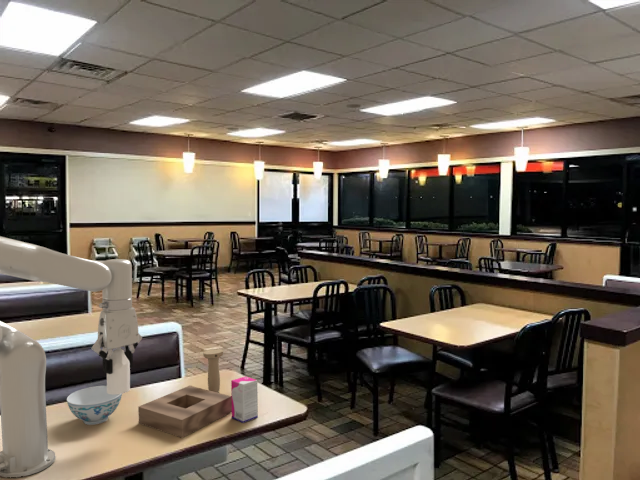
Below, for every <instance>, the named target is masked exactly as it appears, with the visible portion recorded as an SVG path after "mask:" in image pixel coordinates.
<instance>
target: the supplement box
mask: <svg viewBox="0 0 640 480" xmlns="http://www.w3.org/2000/svg"><path fill="white" fill-rule="evenodd" d="M230 381H231V382H230V384H231V385H230V386H231V388H230V389H231V391H230V392H231V395H230V396H231V397H232V398H231V399H232V412H231V419H234V420H235V421H238V422H240V423H241V424H244V423H247V422H250V421H252V420H255V419H257V418H258V417H259V412H258V408H259V406H258V403H259V402H258V401H259V399H258V393H259V391H258V380H257V379H254V378H251V377H250V376H249V377H248V376H247V375H246V376H242V377H239V378H235V379H232V380H230Z"/></svg>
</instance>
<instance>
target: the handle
mask: <svg viewBox="0 0 640 480" xmlns="http://www.w3.org/2000/svg"><path fill="white" fill-rule="evenodd" d="M223 355H224V350H223V349H220V348H215V349H210V350H209V349H208V350H205V351H203V355H202V356H203V357H204V358H206V359H207V361H208V362H207V363H208V364H207V365H208V368H207V386H208V387H207V390H209V391H213V392H217V393H220V389H221V388H220V387H221V375H220V364H219V363H220V362H219V359H220V358H221V357H222V356H223Z"/></svg>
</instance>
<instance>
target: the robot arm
mask: <svg viewBox="0 0 640 480" xmlns="http://www.w3.org/2000/svg"><path fill="white" fill-rule="evenodd" d="M132 267H133V265H132V262H131V261H130V260H129V259H125V258H123V259H121V258H118V259H117V258H114V259H112V258H111V259H106V260H93V259H87V258H82V257H79V256H78V257H77V256H75V255H69V254H66V253H62V252H59V251H57V250H54V249H50V248H47V247H44V246H40V245H37V244H34V243H29V242H26V241H25V242H24V241H21V240H17V239H12V238H8V237H5V236H1V235H0V275H3V276H4V275H5V276H10V277H15V278H20V279H24V280H29V281H33V282H42V283H48V284H54V285H58V286H63V287H68V288H73V289H78V290H82V291H88V292H95V293H96V292H101V291H102V297H101V298H102V300H101V301H102V302H100V303H99V304H98V308H100V309H102V310H100V313H99V318H98V324H97V325H98V326H97V339H96V341H95V342H94V344H93V345H92V347H91V350H92V351H93V352H94V353H96V354H97V355H98V356H99V357H100V359H102V372H103V373H105V374H107V373H108V374H112V373H113V360H112V359H110V358H111V354H112V352H113V351H114V350H116V349H117V348H124V349H123V350H124V353H125V355H126V357H127V358H128V360H129V362H130V369H132V368H133V363H134V362H133V361H134V359H133V358H134V357H133V356H134V355H133V354H134V353H135V352H136V348H137V347H138V345H139V343H140V342H141V341H142V339H143V336H142V335H141V334H140V333H139V323H138V322H139V321H138V315H137V312H136V308H135V307H133V269H132ZM101 348H102V349H101ZM46 355H47V354H46V352H45V349H44V348H43V346H42V345H41V344H40V343H39V342H38V341H37V340H35V339H34V338H33V337H30V336H29V335H27V334H26V333H25V332H22V331H20V330H19V329H17V328H15V327H13V326H11V325H9V324H7V323H5V322H3V321H1V320H0V424H1V425H0V427H1V442H2V443H1V444H2V446H1V447H2V451H0V477H2V478H7V477H10V478H11V477H16V478H22V477H21V476H23V477H27V476H30V475H34V474H36V473H39V472H41V471H43V470H45V469H46V468H47V469H48V467H50V466H52V464H53V463H54V462H55V461H56V452H55V451H54V450H52V449H50V448H49V446H48V445H49V444H48V443H49V442H48V423H47V422H48V420H47V403H46V401H47V400H46V371H47V356H46ZM10 478H9V479H10ZM11 479H12V478H11Z"/></svg>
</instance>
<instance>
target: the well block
mask: <svg viewBox="0 0 640 480" xmlns="http://www.w3.org/2000/svg"><path fill="white" fill-rule="evenodd" d="M231 398H232V397H231V395H229V394H228V395H227V394H224V393H220V392H219V393H217V392H213V391H209V389H206V388H205V389H204V388H201V387H197V386H193V385H188V386H185V387H182V388H180V389H178V390H175V391H172V392H171V393H168V394H166V395H164V396H161V397H159V398H156V399H154V400H152V401H148V402H146V403H144V404H142V405H139V406H138V407H137V408H138V411H137V413H138V424H140V425H143V426H147V427H149V428H152V429H155V430H157V431H161V432H164V433H167V434H169V435H173V436H176V437H179V438H182V439H183V438H185V437H187V436H189V435H191V434H192V433H195V432H196V431H199V430H200V429H202V428H204V427H206V426H208V425H209V424H212V423H213V422H216V421H218V420H220V419H222V418H223V417H225V416H227V415H230V414H232V399H231Z"/></svg>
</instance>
